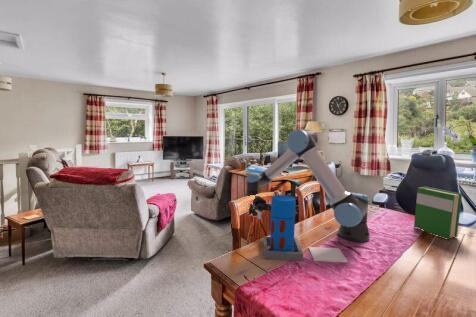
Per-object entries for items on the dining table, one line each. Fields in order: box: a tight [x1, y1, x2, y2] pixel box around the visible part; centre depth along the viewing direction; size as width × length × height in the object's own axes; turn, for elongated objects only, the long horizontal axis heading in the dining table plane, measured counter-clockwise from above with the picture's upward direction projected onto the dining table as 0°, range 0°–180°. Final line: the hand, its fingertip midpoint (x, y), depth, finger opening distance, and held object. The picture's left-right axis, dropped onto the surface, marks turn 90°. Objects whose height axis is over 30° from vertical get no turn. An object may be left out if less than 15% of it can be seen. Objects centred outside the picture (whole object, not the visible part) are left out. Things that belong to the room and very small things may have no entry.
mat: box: [308, 246, 349, 264], centre depth 116 cm, size 14×12×1 cm
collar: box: [262, 236, 304, 262], centre depth 119 cm, size 16×16×3 cm
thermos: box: [269, 194, 297, 252], centre depth 118 cm, size 11×11×25 cm
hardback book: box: [413, 186, 463, 239], centre depth 142 cm, size 18×7×24 cm, turn 24°
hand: (273, 215), depth 127 cm, fingers open, 13 cm apart
